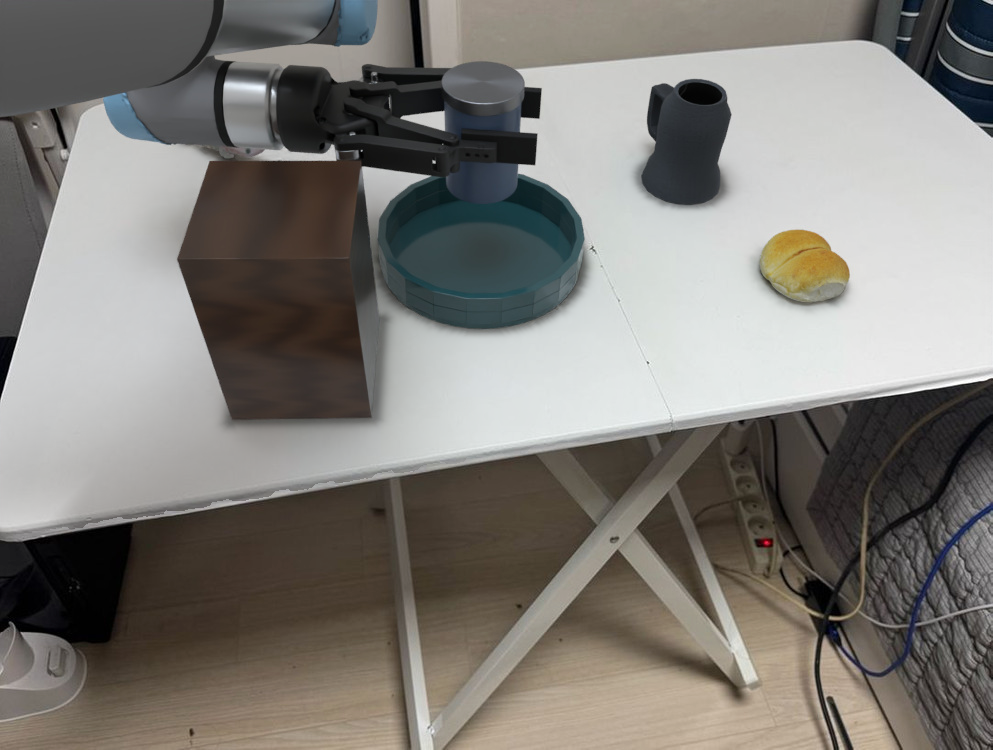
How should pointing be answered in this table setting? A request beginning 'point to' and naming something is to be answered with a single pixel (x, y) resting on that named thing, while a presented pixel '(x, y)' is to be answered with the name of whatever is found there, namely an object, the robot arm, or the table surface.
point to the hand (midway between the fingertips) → (538, 125)
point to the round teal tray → (480, 253)
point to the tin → (482, 124)
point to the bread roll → (803, 266)
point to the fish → (236, 151)
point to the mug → (686, 140)
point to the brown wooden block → (285, 287)
